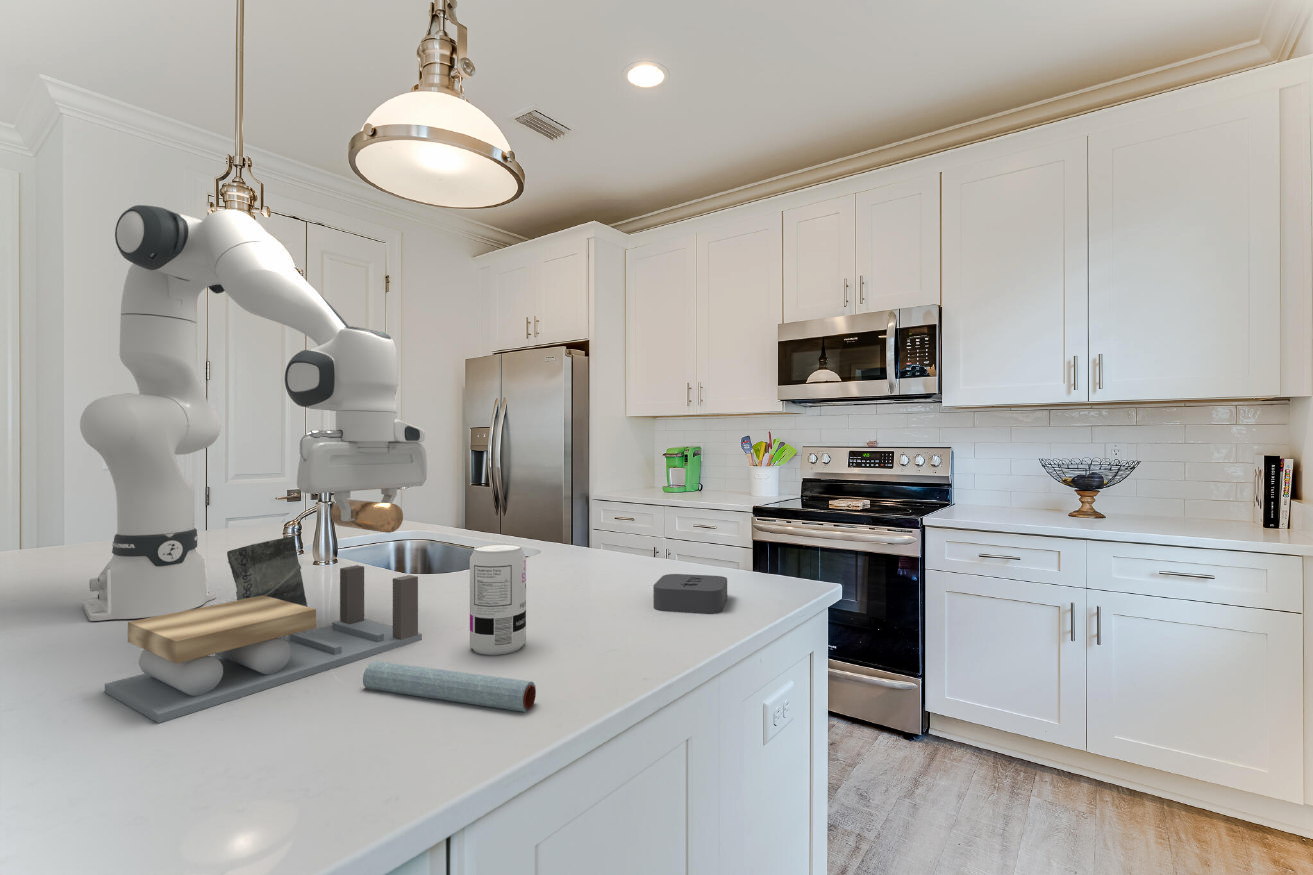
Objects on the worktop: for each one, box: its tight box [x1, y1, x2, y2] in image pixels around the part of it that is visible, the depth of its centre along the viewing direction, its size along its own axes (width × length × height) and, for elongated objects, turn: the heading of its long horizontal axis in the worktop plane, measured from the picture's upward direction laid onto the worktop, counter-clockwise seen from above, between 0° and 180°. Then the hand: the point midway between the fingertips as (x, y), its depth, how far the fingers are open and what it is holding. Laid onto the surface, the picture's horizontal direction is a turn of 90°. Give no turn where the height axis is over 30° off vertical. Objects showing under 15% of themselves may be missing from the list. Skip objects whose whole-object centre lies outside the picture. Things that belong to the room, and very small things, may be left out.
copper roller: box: [330, 498, 404, 534], centre depth 99 cm, size 12×4×4 cm, turn 58°
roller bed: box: [104, 564, 423, 724], centre depth 88 cm, size 16×34×10 cm, turn 147°
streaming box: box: [653, 573, 728, 615], centre depth 119 cm, size 13×13×5 cm
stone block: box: [226, 535, 308, 607], centre depth 102 cm, size 9×14×5 cm
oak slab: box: [127, 595, 317, 663], centre depth 82 cm, size 14×16×2 cm
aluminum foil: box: [362, 660, 537, 713], centre depth 75 cm, size 23×7×3 cm, turn 72°
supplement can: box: [469, 542, 527, 656], centre depth 95 cm, size 8×8×15 cm
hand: (366, 518), depth 99 cm, fingers closed on copper roller, 4 cm apart
